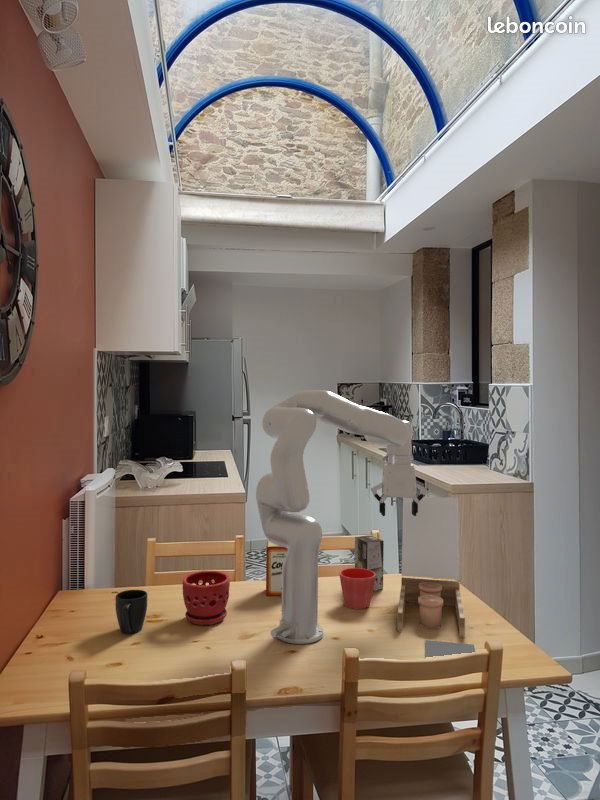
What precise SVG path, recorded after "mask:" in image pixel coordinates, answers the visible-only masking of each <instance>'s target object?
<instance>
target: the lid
mask: <svg viewBox="0 0 600 800" xmlns="http://www.w3.org/2000/svg"><path fill="white" fill-rule="evenodd" d="M417 496H418V495H416V497H417ZM412 502H413V499H412V498H402V536H401V537H402V539H401V543H402V544H401V576H402V577H411V578H415V577H416V578H426V579H427V578H428V579H439V580H443V579H444V580H453V581H460V530H459V529H460V523H459V522H460V521H459V519H460V518H459V517H460V515H459V512H460V510H459V509H460V507H459V506H460V504H459V503H460V501H459V497H446V496H445V497H442V496H440V497H439V496H424V497H423V498H422V499H421V500H420V501H419V503H418V513H416V516H413V515H412Z"/></svg>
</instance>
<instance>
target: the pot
mask: <svg viewBox="0 0 600 800" xmlns="http://www.w3.org/2000/svg"><path fill="white" fill-rule="evenodd" d="M419 590H420V596H423V595H433V596H437V597H440V595H441V591H442V585H440V584H438V583H435V582H421V583H419Z"/></svg>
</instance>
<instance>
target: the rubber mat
mask: <svg viewBox="0 0 600 800" xmlns="http://www.w3.org/2000/svg"><path fill="white" fill-rule="evenodd" d="M424 650H425V652H424V653H425V655H424V656H425V657H433V656H444V655H452V654H461V653H472V652H475V653H476V649H475V644H471V643H461V642H452V641H450V642H449V641H440V640H439V641H438V640H430V639H429V640H428V639H425V649H424ZM425 657H424V658H425Z"/></svg>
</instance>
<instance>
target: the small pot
mask: <svg viewBox="0 0 600 800" xmlns="http://www.w3.org/2000/svg"><path fill="white" fill-rule="evenodd" d="M417 603H418V605H419V618H418V619H419V626H420V627H422V626H423V628H425V629H431V630H433V629H440V628H441V627H442V625H443V624H442V622H443V621H442V617H443V616H442V613H443V612H442V610H443V608H442V607H444V605H443V599H442V598H440V597H437V596H433V595H423V596H420V597H419V598H418V602H417Z"/></svg>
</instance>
